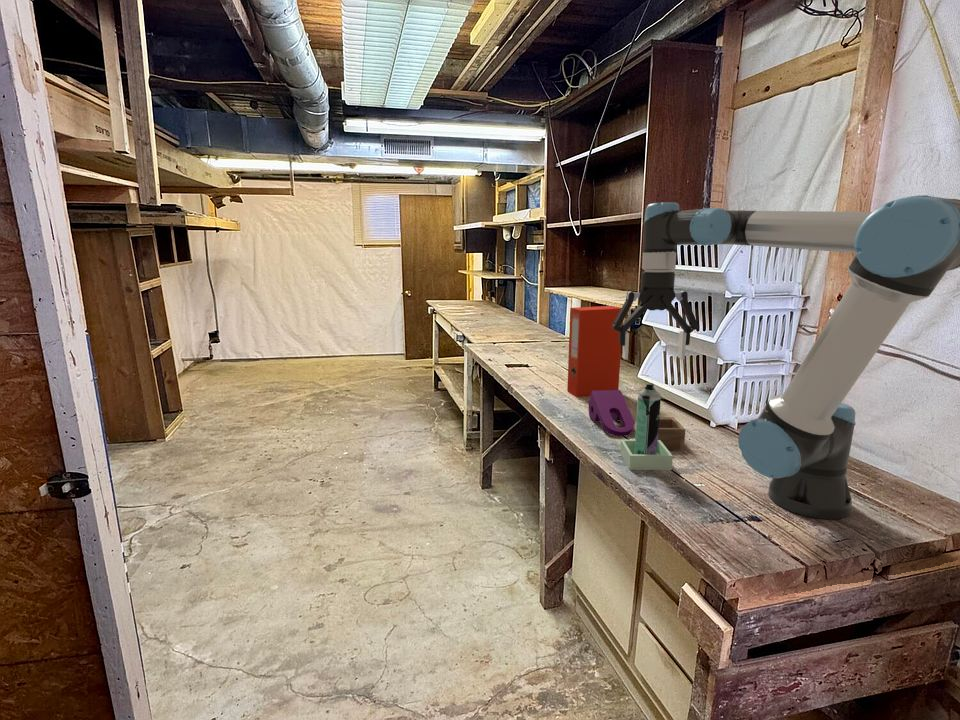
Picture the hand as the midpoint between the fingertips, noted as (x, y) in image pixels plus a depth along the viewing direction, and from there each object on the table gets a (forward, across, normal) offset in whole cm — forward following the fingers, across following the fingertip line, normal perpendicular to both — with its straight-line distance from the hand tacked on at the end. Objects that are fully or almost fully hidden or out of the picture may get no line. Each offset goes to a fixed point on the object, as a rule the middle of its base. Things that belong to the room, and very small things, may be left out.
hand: (652, 358), depth 126 cm
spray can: (+27, 0, 0) cm, 27 cm away
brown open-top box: (+27, -8, -14) cm, 32 cm away
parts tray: (+27, 0, 0) cm, 27 cm away
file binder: (+27, +3, -63) cm, 69 cm away
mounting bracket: (+28, +3, -27) cm, 38 cm away
